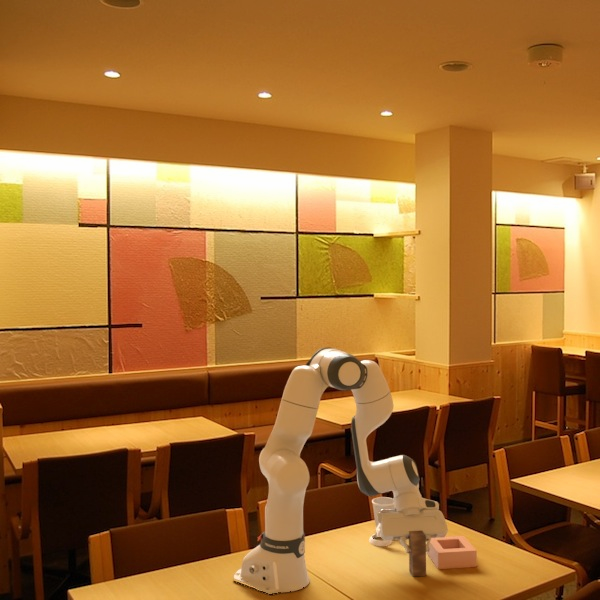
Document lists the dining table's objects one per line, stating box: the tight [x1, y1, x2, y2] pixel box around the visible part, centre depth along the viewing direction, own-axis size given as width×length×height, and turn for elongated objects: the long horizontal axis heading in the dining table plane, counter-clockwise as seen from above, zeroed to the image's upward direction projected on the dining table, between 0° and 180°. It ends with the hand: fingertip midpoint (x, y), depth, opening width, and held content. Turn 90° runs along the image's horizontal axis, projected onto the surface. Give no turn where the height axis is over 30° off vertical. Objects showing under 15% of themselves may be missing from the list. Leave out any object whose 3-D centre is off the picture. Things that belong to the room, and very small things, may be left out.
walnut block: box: [408, 531, 427, 577], centre depth 208 cm, size 4×4×12 cm
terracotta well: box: [426, 535, 478, 570], centre depth 218 cm, size 12×12×5 cm
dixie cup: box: [371, 496, 395, 528], centre depth 244 cm, size 8×8×10 cm
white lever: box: [368, 523, 393, 547], centre depth 233 cm, size 8×12×7 cm
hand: (418, 552), depth 207 cm, fingers closed on walnut block, 4 cm apart
